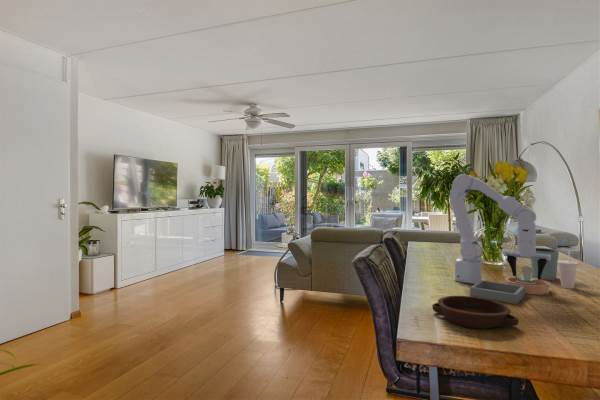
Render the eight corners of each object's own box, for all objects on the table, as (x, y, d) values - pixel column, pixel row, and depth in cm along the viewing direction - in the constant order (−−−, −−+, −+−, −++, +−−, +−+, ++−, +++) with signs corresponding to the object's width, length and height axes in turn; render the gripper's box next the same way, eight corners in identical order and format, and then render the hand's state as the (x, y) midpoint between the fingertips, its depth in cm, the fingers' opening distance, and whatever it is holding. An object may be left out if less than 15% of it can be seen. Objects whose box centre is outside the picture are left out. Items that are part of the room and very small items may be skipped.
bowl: (501, 289, 128) (501, 281, 128) (510, 282, 138) (510, 275, 138) (546, 296, 119) (546, 287, 119) (551, 288, 129) (551, 280, 129)
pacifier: (536, 286, 123) (539, 283, 127) (535, 269, 123) (539, 266, 127) (512, 283, 128) (517, 280, 133) (512, 266, 128) (516, 264, 132)
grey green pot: (547, 274, 151) (547, 247, 151) (565, 280, 141) (565, 251, 141) (524, 275, 151) (524, 247, 151) (540, 280, 141) (540, 251, 141)
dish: (516, 341, 83) (516, 321, 83) (423, 322, 96) (423, 305, 96) (520, 320, 97) (520, 302, 97) (439, 306, 110) (439, 290, 110)
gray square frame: (470, 295, 120) (470, 287, 120) (481, 287, 131) (481, 280, 131) (516, 304, 111) (516, 294, 111) (525, 294, 121) (525, 286, 121)
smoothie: (582, 289, 127) (582, 252, 126) (562, 289, 128) (562, 251, 128) (572, 285, 133) (572, 249, 133) (553, 284, 134) (553, 249, 134)
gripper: (501, 240, 130) (502, 276, 130) (548, 244, 120) (548, 282, 120) (506, 238, 135) (506, 273, 135) (551, 242, 125) (551, 278, 126)
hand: (526, 277), depth 128 cm, fingers closed on pacifier, 7 cm apart
